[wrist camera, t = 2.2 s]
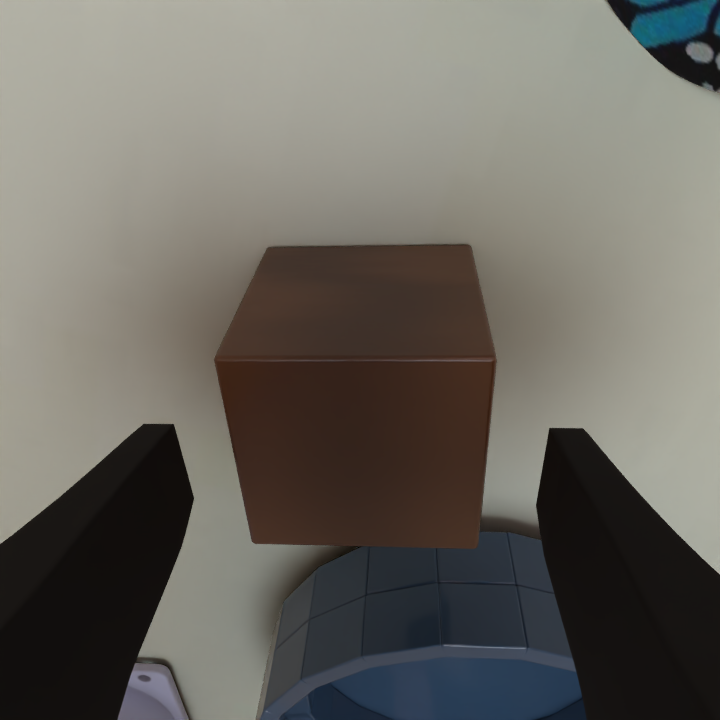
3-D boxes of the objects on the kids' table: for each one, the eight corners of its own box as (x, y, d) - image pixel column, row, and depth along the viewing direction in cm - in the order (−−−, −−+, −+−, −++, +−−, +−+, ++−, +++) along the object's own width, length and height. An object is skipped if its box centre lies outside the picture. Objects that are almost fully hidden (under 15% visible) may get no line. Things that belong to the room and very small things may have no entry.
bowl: (296, 724, 28) (279, 843, 24) (254, 511, 20) (219, 637, 16) (611, 739, 27) (645, 865, 23) (696, 520, 19) (767, 657, 15)
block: (287, 406, 18) (251, 545, 13) (266, 246, 15) (211, 357, 11) (460, 408, 17) (478, 550, 13) (471, 243, 14) (498, 357, 10)
